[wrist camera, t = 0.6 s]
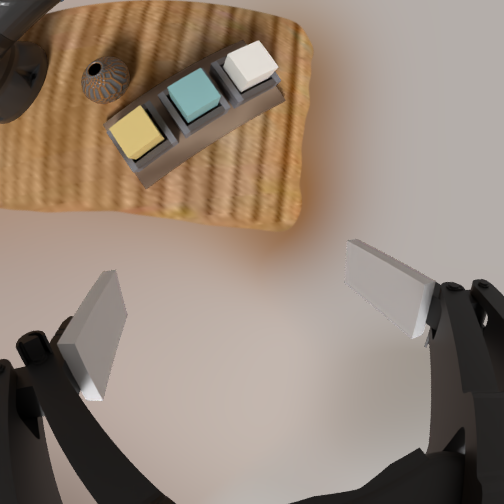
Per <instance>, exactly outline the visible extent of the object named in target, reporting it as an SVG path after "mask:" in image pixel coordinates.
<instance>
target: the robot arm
mask: <svg viewBox="0 0 504 504" xmlns="http://www.w3.org/2000/svg"><path fill="white" fill-rule="evenodd" d="M62 1H64V0H0V124H5V123H9V122H11V121H13V120H15V119H17V118H18V117H19V116H21V115H22V114H23V113H24V112H25V111H26V110H27V109H28V108H29V107H30V105H31V104H32V103H33V101H34V100H35V98H36V97H37V95H38V93H39V91H40V89H41V87H42V85H43V82H44V79H45V76H46V72H47V56H46V53H45V51H44V50H43V49H42V48H41V47H40V46H38V45H37V44H35V43H33V42H26V41H17V40H18V39H19V38H20V37H21V36H22V35H23V34H24V33H25V32H26V31H27V30H28V29H29V28H30V27H31V26H32V25H34V24H35V23H36V22H37V21H38V20H39V19H40V18H41V17H42V16H44V15H45V14H46V13H47V12H48V11H49V10H51V9H52V8H53V7H54V6H55V5H56V4H58V3H59V2H62ZM344 283H345V284H347V285H348V286H349V287H350V288H351V289H353V290H354V291H355V292H357V293H358V294H359V295H360V296H361V297H362V298H364V299H365V300H366V301H367V302H368V303H370V304H371V305H372V306H373V307H374V308H376V309H377V310H378V311H379V312H381V313H382V314H383V315H384V316H385V317H386V318H388V319H389V320H390V321H391V322H392V323H393V324H394V325H396V326H397V327H398V328H399V329H400V330H401V331H403V332H404V333H405V334H406V335H407V336H409V337H410V338H411V339H413V338H415V337H418V336H420V335H422V334H423V331H424V328H425V324H426V323H427V324H428V325H429V326H430V330H429V334H428V337H427V340H426V343H425V347H427V344H429V345H430V347H429V348H430V359H431V423H430V437H429V446H428V449H427V452H426V454H424V453H423V451H422V450H421V449H420V448H418V449H416V450H415V451H413V452H411V453H410V454H408V455H406V456H404V457H403V458H401V459H399V460H397V461H395V462H394V463H392V464H390V465H389V466H388V467H387V468H385V469H384V470H383V471H382V472H381V473H379V474H378V475H377V476H376V477H375V478H373V479H372V480H371V481H370V482H368V483H367V484H366V485H364V486H363V487H361V488H360V489H357V490H352V491H347V492H341V493H335V494H328V495H321V496H314V497H311V498H307V499H304V500H301V501H298V502H294V503H290V504H504V296H503V295H502V294H501V293H500V292H499V291H498V290H497V289H496V288H495V287H494V286H493V285H492V284H491V283H489V282H488V281H486V280H483V279H481V280H479V279H478V280H474V281H473V283H472V287H471V290H465V289H464V287H462V286H461V285H459V284H457V283H454V282H445V283H442V284H441V285H440V284H438V283H437V282H435V281H434V280H433V279H431V278H429V277H427V276H425V275H424V274H422V273H420V272H418V271H417V270H415V269H413V268H411V267H409V266H408V265H406V264H404V263H402V262H400V261H398V260H397V259H395V258H393V257H391V256H389V255H387V254H385V253H383V252H381V251H380V250H377V249H376V248H374V247H372V246H370V245H368V244H366V243H364V242H362V241H360V240H358V239H355V240H348V241H347V251H346V269H345V281H344ZM486 314H487V315H488V321H487V325H486V326H484V325H483V323H484V320H485V317H486ZM126 318H127V311H126V308H125V304H124V301H123V297H122V293H121V289H120V285H119V281H118V277H117V273H116V270H111V271H104V272H103V273H102V274H101V275H100V277H99V278H98V280H97V281H96V283H95V284H94V286H93V287H92V288H91V290H90V291H89V293H88V294H87V296H86V298H85V299H84V301H83V302H82V304H81V305H80V307H79V308H78V310H77V312H76V313H75V315H74V316H70V317H68V318H67V319H66V320H65V321H64V322H62V324H61V326H60V327H59V330H57V332H56V334H55V336H54V337H53V338H52V340H51V342H50V343H49V342H48V340H47V338H46V336H45V333H44V332H43V331H32V332H29V333H27V334H25V335H23V336H22V337H21V338H20V339H19V340H18V341H17V343H16V349H17V350H18V353H19V355H20V356H21V358H22V360H23V362H24V364H25V367H21V368H16V369H14V368H13V366H12V365H11V363H10V362H9V361H8V360H7V359H1V360H0V504H63V503H62V500H61V497H60V494H59V491H58V488H57V484H56V481H55V478H54V474H53V470H52V466H51V462H50V458H49V453H48V448H47V443H46V438H45V432H44V425H43V419H42V416H45V417H46V419H47V421H48V423H49V425H50V427H51V429H52V431H53V433H54V435H55V437H56V439H57V441H58V443H59V445H60V446H61V448H62V450H63V452H64V453H65V455H66V457H67V458H68V460H69V462H70V464H71V465H72V467H73V469H74V470H75V472H76V473H77V475H78V476H79V478H80V479H81V481H82V482H83V484H84V485H85V487H86V488H87V490H88V491H89V492H90V493H91V495H92V496H93V498H94V499H95V500H96V502H97V503H98V504H176V503H175V502H173V501H172V500H171V499H170V498H168V497H167V496H165V495H164V494H163V493H162V492H160V491H159V490H158V489H157V488H156V487H155V486H154V485H153V484H152V483H151V482H150V481H149V480H148V479H147V478H146V477H145V476H144V475H143V474H142V473H141V472H140V471H139V470H138V469H137V468H136V467H135V466H134V465H133V464H132V463H131V462H130V461H129V459H128V458H127V457H126V456H125V455H124V454H123V453H122V452H121V451H120V449H119V448H118V447H117V446H116V445H115V444H114V442H113V441H112V440H111V439H110V437H109V436H108V435H107V434H106V432H105V431H104V430H103V429H102V427H101V426H100V425H99V423H98V422H97V421H96V419H95V418H94V417H93V415H92V414H91V412H90V411H89V410H88V409H87V407H86V405H85V404H84V402H83V401H82V399H81V398H80V396H79V392H80V390H81V392H82V394H83V395H84V397H85V399H86V400H95V401H96V400H97V401H103V399H104V395H105V391H106V387H107V383H108V379H109V375H110V371H111V367H112V364H113V361H114V357H115V353H116V350H117V346H118V343H119V340H120V337H121V334H122V331H123V327H124V324H125V321H126Z"/></svg>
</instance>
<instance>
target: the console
mask: <svg viewBox="0 0 504 504" xmlns="http://www.w3.org/2000/svg"><path fill="white" fill-rule="evenodd" d="M244 46H247V45H246V43H245V42H244V41H243V40H241V41H239V42H237V43H235V44H232V45H230V46H228V47H226V48H224V49H222V50H219V51H217V52H215V53H213V54H211V55H209V56H207V57H205V58H203V59H202V60H200V61H198V62H196V63H194V64H192V65H190V66H189V67H187V68H185V69H183V70H182V71H180V72H178V73H176V74H175V75H173V76H171V77H170V78H168V79H166V80H165V81H163V82H162V83H160V84H158V85H157V86H155V87H154V88H152V89H151V90H149V91H148V92H146V93H145V94H143V95H142V96H140V97H139V98H138V99H136V100H135V101H133V102H132V103H130V104H129V105H128V106H126V107H125V108H124V109H122V110H121V111H120V112H118V113H117V114H116V115H114V116H113V117H112V118H111V119H109V120H108V121H107V122H106V123H104V124H103V126H104V127H105V129H106V130H107V134H108V135H109V137H110V138H111V140H112V141H113V143H114V144H115V146H116V147H117V149H118V150H119V152H120V153H121V155H122V157H123V158H124V159H125V161H126V162H127V164H128V165H129V167H130V168H131V170H132V171H133V172H134V173H135V174H136V176H137V177H138V178H139V180H140V181H141V183H142V184H143V186H144V187H145V189H148V188H149V187H150V186H152V185H153V184H154V183H156V182H157V181H158V180H160V179H161V178H162V177H164V176H165V175H166V174H168V173H169V172H171V171H172V170H173V169H175V168H176V167H178V166H179V165H180V164H182V163H183V162H185V161H186V160H188V159H189V158H191V157H192V156H194V155H195V154H197V153H198V152H200V151H201V150H203V149H204V148H206V147H207V146H209V145H210V144H212V143H214V142H215V141H217V140H218V139H220V138H221V137H223V136H225V135H226V134H228V133H230V132H231V131H233V130H235V129H236V128H238V127H240V126H241V125H243V124H245V123H246V122H248V121H250V120H252V119H253V118H255V117H257V116H259V115H260V114H262V113H264V112H266V111H268V110H270V109H271V108H273V107H275V106H277V105H279V104H281V103H283V102H284V101H286V100H285V99H284V97H283V96H282V94H281V93H280V91H279V90H278V88H277V87H276V85H277V84H278V83H279V82H280V81H281V79H280V78H279V76H278V75H277V74H276V72H275V71H274V73H273V74H272V75H271V76H270V77H269V78H268V79H266V80H264V81H262V82H260V83H258V84H256V85H254V86H252V87H250V88H248V89H246V90H245V91H243V92H241V93H240V91H239V90H238V88H237V87H236V85H235V84H234V83H233V81H232V80H231V78H230V77H229V76H228V74H227V73H226V71H225V70H224V69H223V66H224V63H225V60H226V57H227V55H228V54H229V53H231V52H233V51H235V50H238V49H240V48H242V47H244ZM199 68H201V69H202V70H203V71H204V73H205V74H206V76H207V77H208V78H209V80H210V81H211V83H212V84H213V85H214V87H215V88H216V90H217V91H218V93H219V94H220V95H221V97H220V100H219V102H218V105H217V106H216V107H214V108H212V109H211V110H209V111H207V112H206V113H204V114H202V115H201V116H199V117H198V118H196V119H194V120H193V121H191V122H190V123H188V122H187V121H186V119H185V118H184V117H183V115H182V114H181V112H180V111H179V109H178V108H177V106H176V105H175V103H174V102H173V101H172V99H171V98H170V94H169V91H168V88H167V87H169V86H170V85H172V84H173V83H175V82H177V81H178V80H180V79H182V78H183V77H185V76H187V75H189V74H190V73H192V72H194V71H196V70H198V69H199ZM140 105H141V107H142V108H143V109H144V110H145V111H146V113H147V114H148V115H149V117H150V118H151V120H152V121H153V123H154V124H155V126H156V127H157V129H158V130H159V132H160V133H161V135H162V136H163V137H164V140H163V141H161V142H160V143H159V144H157V145H156V146H154V147H153V148H152V149H150V150H149V151H148V152H146V153H145V154H144V155H142V156H141V157H140V158H138V159H131V158H128V157H127V156H126V154H125V153H124V151H123V150H122V148H121V147H120V145H119V144H118V142H117V141H116V139H115V137H114V136H113V134H112V133H111V131H110V130H109V128H111V127H112V126H113V125H114V124H116V123H117V122H118V121H120V120H121V119H122V118H123V117H125V116H126V115H127V114H129V113H130V112H132V111H133V110H134V109H136V108H137V107H138V106H140Z"/></svg>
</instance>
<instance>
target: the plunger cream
mask: <svg viewBox="0 0 504 504" xmlns="http://www.w3.org/2000/svg"><path fill="white" fill-rule="evenodd" d="M277 68H278V66H277V64H276V63H275V61H274V60H273V59H272V57H271V56H270V54H269V53H268V52H267V50H266V49H265V48H264V46H263V45H262V44H261V42H260V41H259V40H258V41H256V42H254V43H251V44H249V45H247V46H244V47H242V48H240V49H238V50H235V51H233V52H231V53H229V54H228V55H227V57H226V60H225V63H224V66H223V69H224V70H225V71H226V73H227V74H228V76H229V77H230V78H231V80H232V81H233V83H234V84H235V85H236V87H237V88H238V90H239V91H240V93H241V92H243V91H245V90H246V89H248V88H250V87H252V86H254V85H256V84H258V83H260V82H262V81H264V80H266V79H268V78H269V77H270V76H271V75H272V74H273V73H274V71H275V70H276V69H277Z"/></svg>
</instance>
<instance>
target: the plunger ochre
mask: <svg viewBox="0 0 504 504" xmlns="http://www.w3.org/2000/svg"><path fill="white" fill-rule="evenodd" d="M109 130H110V131H111V133H112V134H113V136H114V137H115V139H116V141H117V142H118V144H119V145H120V147H121V148H122V150H123V151H124V153H125V154H126V156H127V157H128V158H131V159H138V158H140V157H141V156H142V155H144V154H145V153H146V152H148V151H149V150H150V149H152V148H153V147H154V146H156V145H157V144H159V143H160V142H161V141H163V140H164V137H163V136H162V135H161V133H160V132H159V130H158V129H157V127H156V126H155V124H154V123H153V121H152V120H151V118H150V117H149V115H148V114H147V113H146V111H145V110H144V109H143V108H142V107H141V105H140V106H138V107H137V108H136V109H134V110H133V111H132V112H130V113H129V114H127V115H126V116H125V117H123V118H122V119H121V120H120V121H118V122H117V123H116V124H114V125H113V126H112V127H111V128H109Z"/></svg>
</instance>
